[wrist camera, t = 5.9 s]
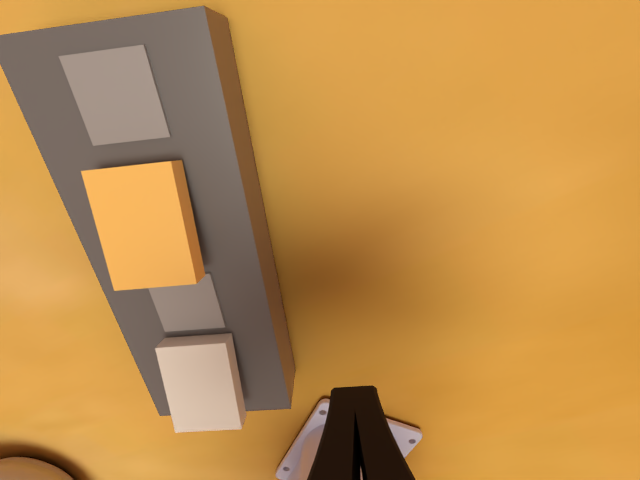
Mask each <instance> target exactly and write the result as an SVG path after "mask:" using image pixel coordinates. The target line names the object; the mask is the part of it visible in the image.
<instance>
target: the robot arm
mask: <svg viewBox="0 0 640 480" xmlns="http://www.w3.org/2000/svg"><path fill="white" fill-rule="evenodd" d="M421 439H422V432H421V430H420V429H418V428H415V427H412V426H409V425H406V424H403V423H400V422H397V421H394V420H391V419H388V418H386V417H385V415H384V412H383V409H382V406H381V403H380V400H379V397H378V393H377V389H376V388H375V387H374V386H358V387H341V388H334V389H332V390H331V396H330V399H322V400H320V401H319V403H318V405H317V406H316V408H315V409H314V411H313V412H312V414H311V416H310V417H309V419H308V420H307V422H306V424H305V425H304V427H303V428H302V430H301V432H300V433H299V435H298V436H297V438H296V439H295V441H294V443H293V444H292V446H291V447H290V449H289V451H288V452H287V454H286V455H285V457H284V459H283V460H282V462H281V463H280V465H279V467H278V468H277V470H276V477H277V478H278V479H281V480H415V478H414V476H413V474H412V472H411V471H410V469H409V467H408V465H407V463H406V461H405V459H404V458H405V457H406V456H407V455H408V454H409V452H410V451H411V450H412V449H413V448H414V447H415V446H416V444H417V443H418V442H419V441H420V440H421Z"/></svg>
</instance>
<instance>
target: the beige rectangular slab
mask: <svg viewBox="0 0 640 480" xmlns="http://www.w3.org/2000/svg"><path fill="white" fill-rule="evenodd" d="M155 350H156V354H157V359H158V363H159V367H160V371H161V375H162V379H163V384H164V388H165V392H166V396H167V400H168V404H169V409H170V413H171V417H172V421H173V425H174V429H175V433H176V432H195V431H215V430H234V429H242V427H243V424H244V421H245V418H246V410H245V404H244V399H243V393H242V388H241V382H240V377H239V371H238V366H237V360H236V355H235V349H234V344H233V338H232V333H225V334H211V335H197V336H183V337H170V338H164V339H163V340H162V341H161V342H160V343H159V344H158V345H157V347H156V348H155Z"/></svg>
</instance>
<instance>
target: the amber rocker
mask: <svg viewBox="0 0 640 480" xmlns="http://www.w3.org/2000/svg"><path fill="white" fill-rule="evenodd" d="M81 173H82V177H83V181H84V184H85V188H86V191H87V195H88V199H89V202H90V206H91V209H92V213H93V217H94V220H95V224H96V227H97V231H98V235H99V238H100V242H101V245H102V249H103V253H104V256H105V260H106V263H107V267H108V271H109V274H110V278H111V281H112V285H113V289H114V291H119V290H131V289H143V288H155V287H167V286H179V285H191V284H197V283H198V282H199V281H200V280H201V279H202V278H203V277H204V276H205V271H204V266H203V261H202V256H201V251H200V246H199V241H198V236H197V231H196V226H195V221H194V216H193V211H192V207H191V202H190V197H189V192H188V187H187V182H186V177H185V172H184V167H183V162H182V160H176V161H167V162H158V163H149V164H140V165H131V166H122V167H113V168H104V169H95V170H86V171H81Z"/></svg>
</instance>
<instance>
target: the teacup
mask: <svg viewBox="0 0 640 480" xmlns="http://www.w3.org/2000/svg"><path fill="white" fill-rule="evenodd" d="M0 480H74V479H73V478H72V477H71V476H70V475H68V474H67V473H66V472H64V471H63V470H61V469H60V468H58V467H55V466H53V465H51V464H49V463H46V462H44V461H40V460H37V459H33V458H26V457H9V458H4V459H0Z"/></svg>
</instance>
